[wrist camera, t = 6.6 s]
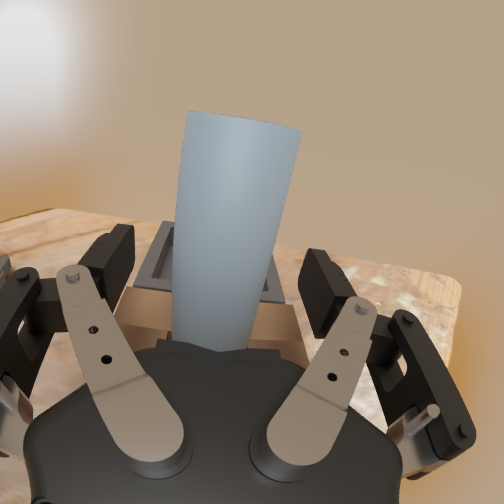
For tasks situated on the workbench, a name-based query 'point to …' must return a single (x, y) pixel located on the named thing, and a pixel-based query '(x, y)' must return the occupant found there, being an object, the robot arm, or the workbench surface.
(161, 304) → the bore block
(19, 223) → the workbench surface
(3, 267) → the graphics card
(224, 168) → the dowel
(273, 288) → the tray
